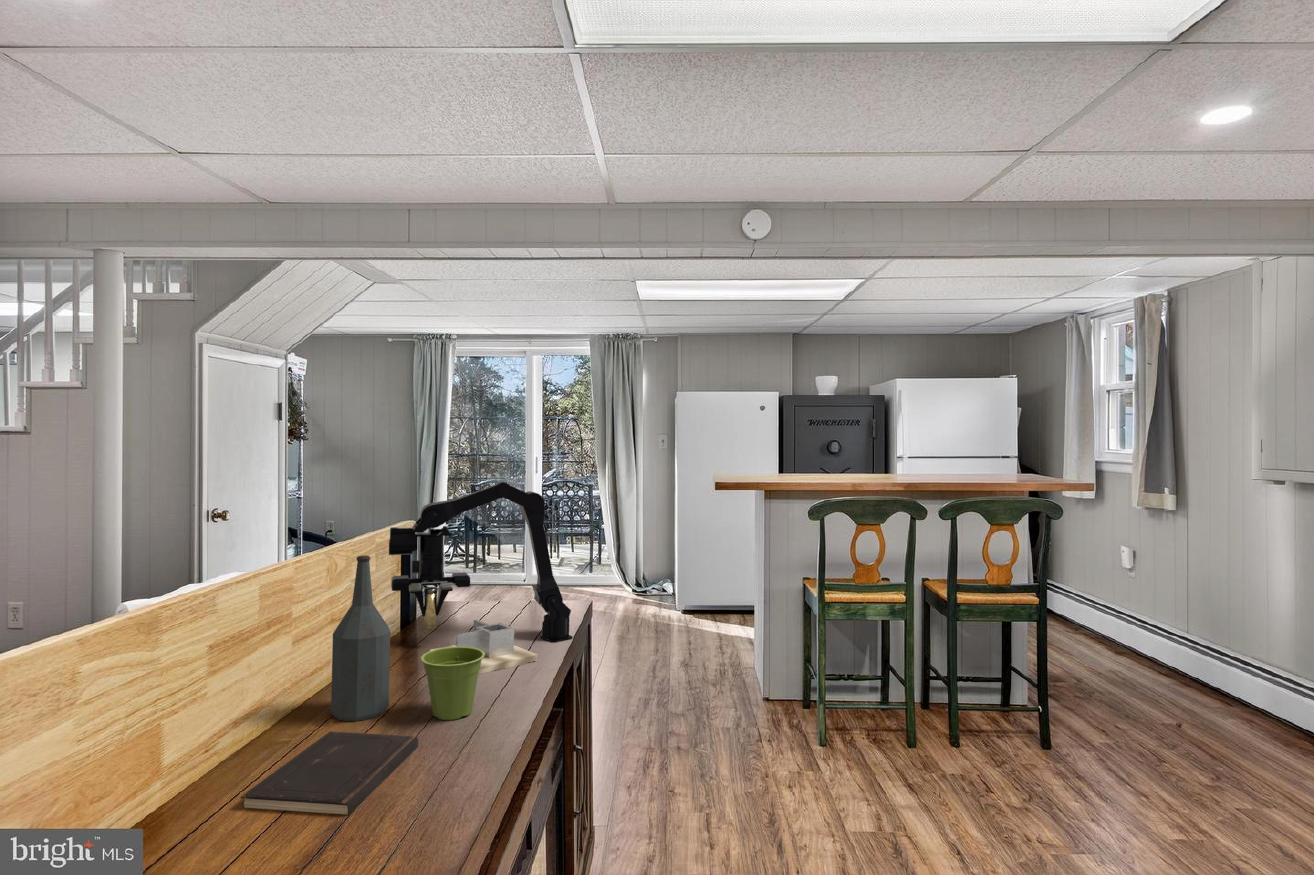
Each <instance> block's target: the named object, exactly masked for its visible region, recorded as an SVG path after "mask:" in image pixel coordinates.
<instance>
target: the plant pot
mask: <svg viewBox="0 0 1314 875" xmlns="http://www.w3.org/2000/svg"><path fill="white" fill-rule="evenodd" d="M445 647H446V648H442V647H439V648H440V649H436V648H434V649H435V650H432V651H428V652H425V653H424V654H422V655H421V657H420V661H421V663H423V667H424V672H425V675H426V678H427V683H428V691H429V696H430V704H431V711H432V715H433V717H436V718H437V719H439V720H444V721H449V720H450V721H455V720H459V719H461V718H462V717H467V716H469V715H470V714H472V711H473V706H474V701H475V700H474V699H475V695H476V687H477V682H478V676H479V674H478V672H479V669H480V666H481V660H482V658H483V657H484V656H485V653H484V651H482V650H480V649H477V648H473V647H447V646H445Z"/></svg>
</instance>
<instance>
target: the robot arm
mask: <svg viewBox="0 0 1314 875" xmlns="http://www.w3.org/2000/svg"><path fill="white" fill-rule="evenodd" d="M500 499H506V500H508V501H510V502H513V503H515V504H517V505H518V506H519V509H520V511H521V514H522V516H523V519H524V520H525V522H526V525H527V528H528V533H529V537H530V538H529V539H530V545H531V549H532V554H533V560H534V565H535V570H536V574H537V580H536V581H537V582H536V584H532V585H531V587H532V590H533V592H534V593H533V594H534V597H533V599H534V601H536V602H537V604H538V605H539V606H540V607H541V608H542V609H543V610H544V612H545V613H546V614H545V615H543V621H542V627H541V628H542V629H541V634H540V635H539V637H540V638H541V639H544V640H545V641H548V642H552V643H556V642H562V641H566V640H572V639H573V636H572V635H570V615H571V612H572V610H571V609H570V608H569V606H567V605H566V604H565V603H564V600H563V599H564V598H563V596H562V593H561V590H560V587H559V586H558V583H557V581H556V579H555V577H554V574H553V569H552V564H551V563H552V562H551V558H550V552H549V546H548V542H547V536H546V531H545V523H544V522H545V517H546V513H545V512H546V511H545V510H546V508H545V507H546V506H545V505H546V503H545V499H544V497H543V496H542V495H541V494H539V493H538V492H534V491H529V490H528V491H526V492H525V491H523V490H521V489H518V488H516V487H514V486H512V485H510V484H509V483H507V482H506V481H498V482H496V483H495V484H493V485H489V486H487V487H485V488H482V489H479V490H477V491H474V492H471V493H468V494H466V495H463V496H460V497H457V498H454V499H448V500H441V501H435V502H431V503H427V504H425V505H424V506H423V507H422V508H421V510H420V514H419V518H418V519H417V521H415V523H413V526H412V527H397V526H396V527H395V526H394V527H392V526H391V527H390V528H389V539H388V555H389V556H404V555H408V556H409V555H413V552H415V551H418V538H419V560H411V574H412V575H413V574H415V575H416V574H417V577H415V578H409V575H407V574H406V575H393V576H392V577H391V580H390V589H391V591H392V592H397V591H398V592H400V591H406V590H408V591H409V593H410V594H414V596H415V598H416V600H417V602H418V606H419V609H420V613H421V616H422V617H423V618H424V613H425V610H424V591H423V589H422V588H423V587H424V586H438V590H437V613H436V617H438V616H439V614H440V612H441V609H442V606H443V605H444V602H445V600H446V598H447V596H448V593H449V592H453V590H454V588H453V585H455V586H456V587H457V588H469V587H471V577H470V575H469V574H468V573H467V572H465V571H464V572H452V574H451V576H444V544H445V543H444V539H445V538H444V537H451V536H452V532H451V531H450V530H448V528H447V526H446V525H444V524H446V523H447V522H449V521H450V520H453V519H454V518H455V517H456V516H458V515H460V514H462V513H465V512H467V511H470V510H473V509H476V508H478V507H482V506H483V505H486V504H488V503H492V502H495V501H496V500H500ZM442 525H443V526H442ZM440 526H442V528H439V527H440ZM435 528H436V529H435ZM427 530H429V532H425V531H427Z"/></svg>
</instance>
